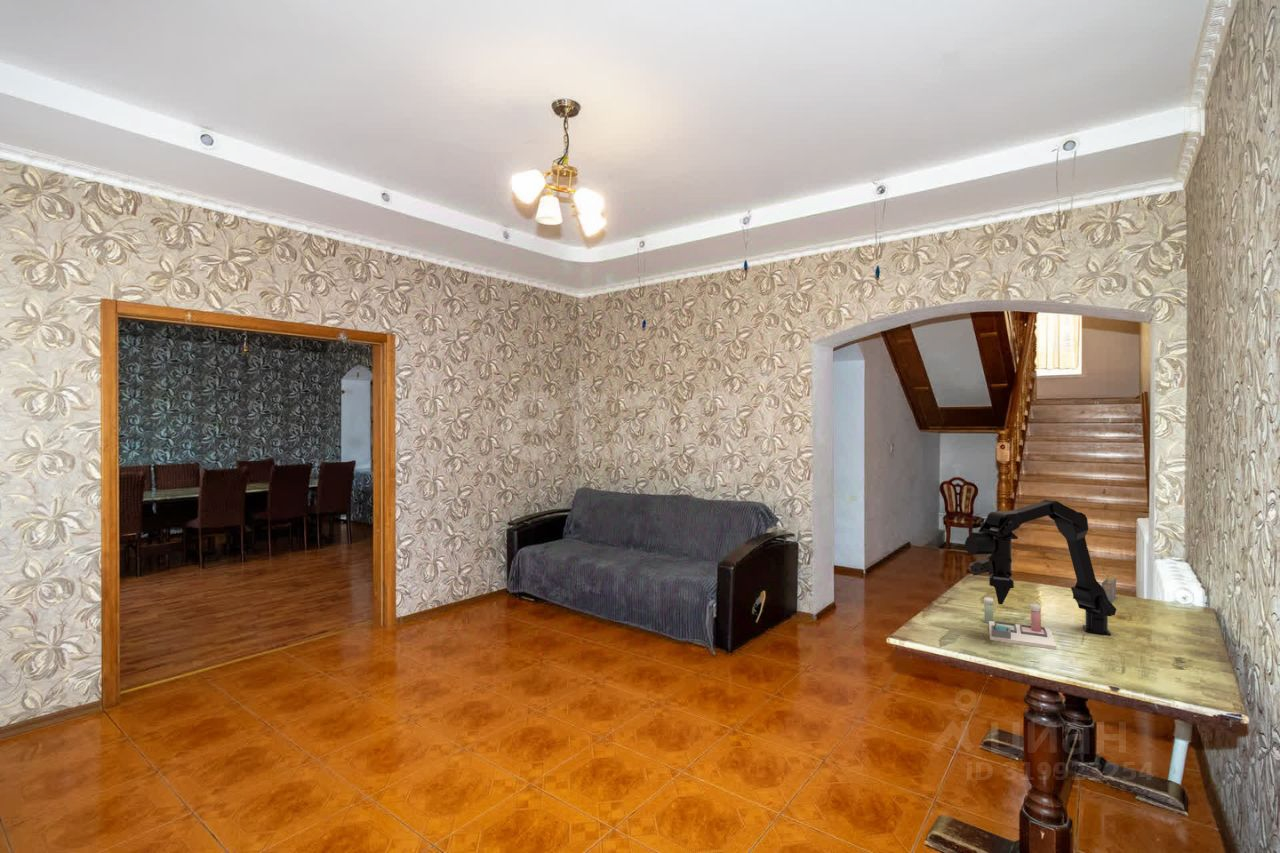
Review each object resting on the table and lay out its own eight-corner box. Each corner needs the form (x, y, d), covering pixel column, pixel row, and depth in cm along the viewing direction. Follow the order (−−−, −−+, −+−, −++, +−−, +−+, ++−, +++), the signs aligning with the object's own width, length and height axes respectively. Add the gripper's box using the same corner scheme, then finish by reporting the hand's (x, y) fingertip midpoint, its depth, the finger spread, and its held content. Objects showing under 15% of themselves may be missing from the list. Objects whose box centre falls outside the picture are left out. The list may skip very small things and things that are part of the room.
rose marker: (1040, 629, 195) (1039, 604, 195) (1042, 632, 193) (1041, 606, 192) (1030, 628, 196) (1029, 603, 196) (1031, 631, 194) (1031, 605, 194)
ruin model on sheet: (1106, 596, 237) (1106, 571, 237) (1116, 598, 235) (1116, 573, 235) (1100, 602, 229) (1100, 576, 229) (1110, 604, 227) (1110, 578, 227)
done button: (995, 632, 192) (995, 625, 192) (1006, 634, 191) (1006, 626, 191) (995, 635, 190) (995, 627, 190) (1006, 637, 188) (1006, 629, 188)
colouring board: (988, 624, 204) (988, 614, 204) (1050, 632, 196) (1050, 622, 196) (989, 639, 189) (989, 630, 189) (1056, 649, 181) (1056, 639, 181)
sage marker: (984, 620, 208) (984, 596, 208) (993, 621, 206) (993, 597, 206) (984, 622, 205) (984, 598, 205) (993, 624, 204) (993, 599, 204)
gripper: (971, 545, 202) (970, 593, 202) (970, 556, 186) (970, 608, 186) (1010, 549, 197) (1010, 597, 197) (1013, 560, 181) (1013, 613, 181)
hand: (1000, 604), depth 190 cm, fingers closed
